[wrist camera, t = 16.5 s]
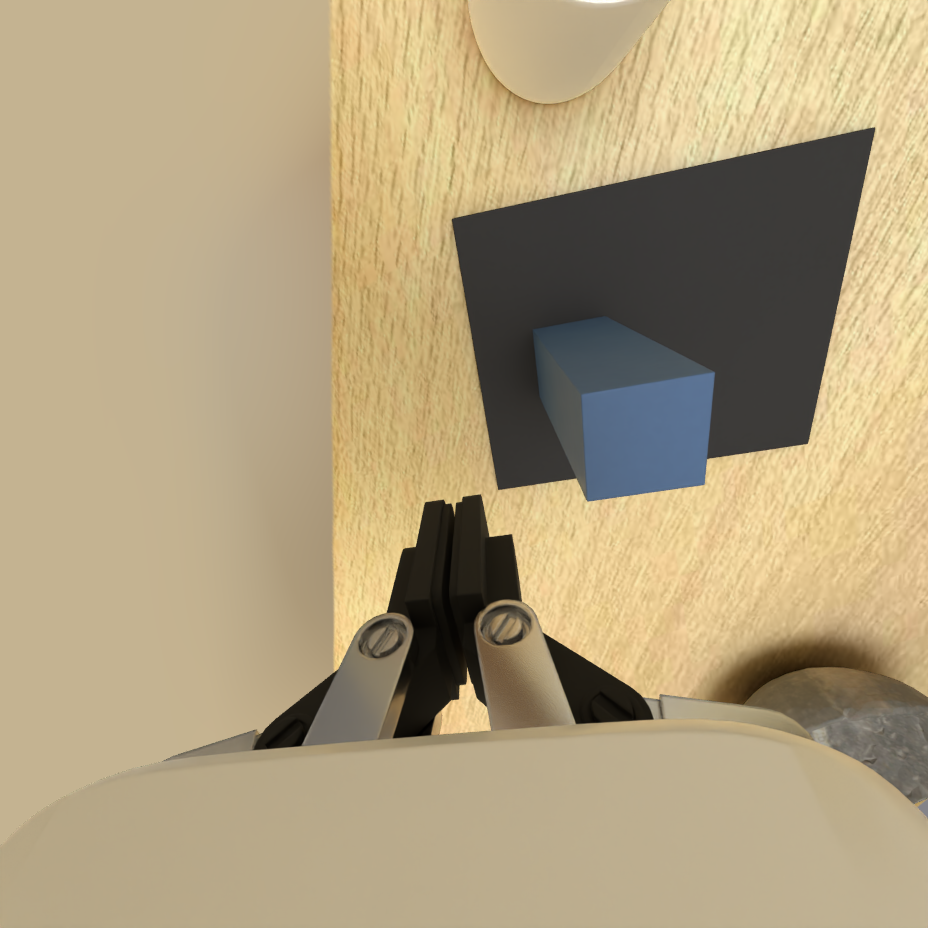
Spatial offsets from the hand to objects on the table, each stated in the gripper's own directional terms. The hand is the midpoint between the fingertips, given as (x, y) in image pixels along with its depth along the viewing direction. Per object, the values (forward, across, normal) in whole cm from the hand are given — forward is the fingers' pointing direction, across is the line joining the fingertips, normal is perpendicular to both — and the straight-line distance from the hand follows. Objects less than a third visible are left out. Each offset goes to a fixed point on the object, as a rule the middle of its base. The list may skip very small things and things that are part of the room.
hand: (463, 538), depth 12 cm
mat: (+18, -12, 0) cm, 21 cm away
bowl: (+18, -27, +38) cm, 50 cm away
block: (+17, -7, 0) cm, 18 cm away
